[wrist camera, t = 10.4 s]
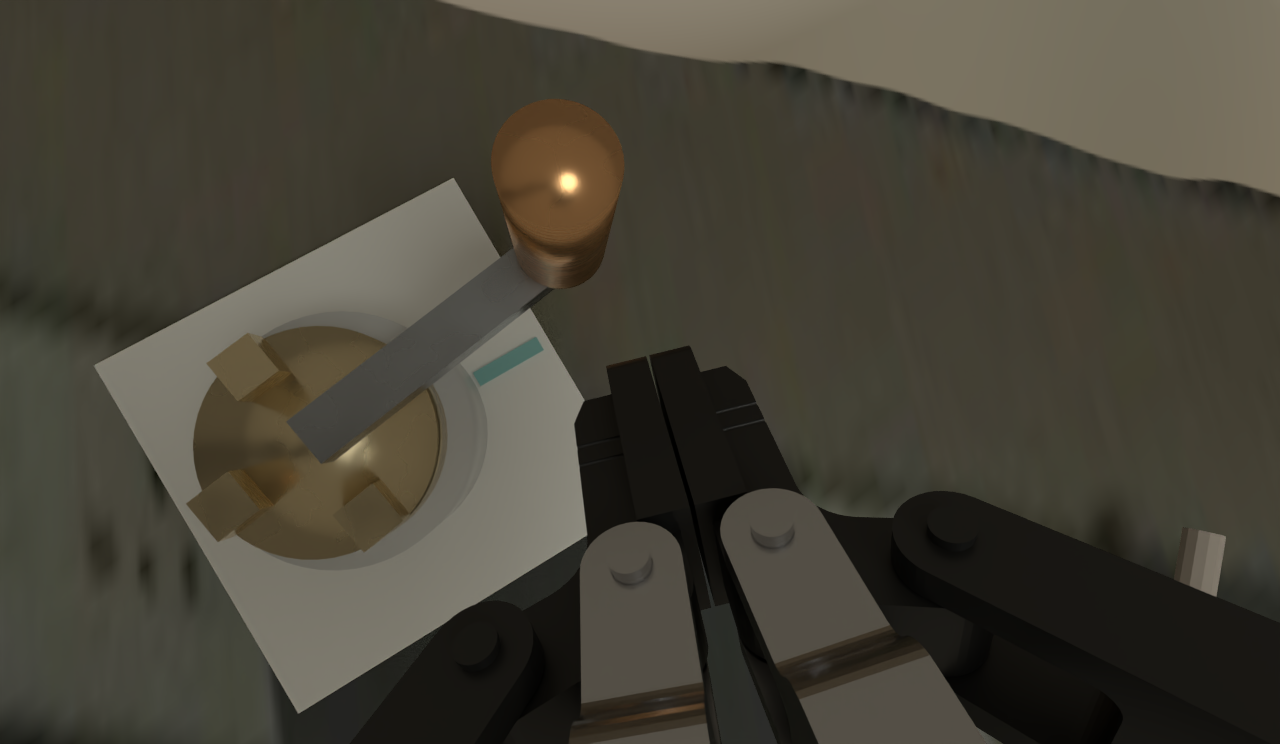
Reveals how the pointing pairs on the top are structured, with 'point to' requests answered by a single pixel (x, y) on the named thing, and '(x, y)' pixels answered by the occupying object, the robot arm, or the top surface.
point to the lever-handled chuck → (394, 364)
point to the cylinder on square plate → (473, 469)
